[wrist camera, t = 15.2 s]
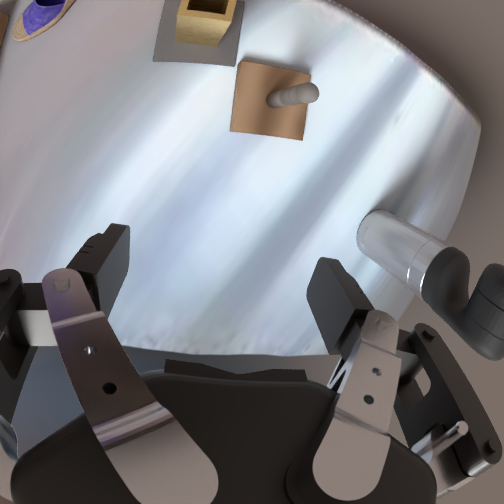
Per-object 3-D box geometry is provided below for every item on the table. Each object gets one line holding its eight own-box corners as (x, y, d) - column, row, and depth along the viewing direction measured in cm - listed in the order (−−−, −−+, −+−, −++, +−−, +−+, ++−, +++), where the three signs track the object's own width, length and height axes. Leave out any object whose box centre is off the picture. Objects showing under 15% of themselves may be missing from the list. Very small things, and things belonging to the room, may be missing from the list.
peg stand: (304, 76, 35) (354, 62, 24) (296, 139, 39) (344, 147, 28) (237, 64, 32) (267, 37, 21) (229, 131, 36) (255, 132, 25)
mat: (243, 3, 28) (244, 2, 28) (233, 66, 32) (234, 66, 32) (166, -4, 25) (166, -5, 24) (153, 61, 29) (152, 60, 29)
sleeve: (224, 14, 28) (240, -17, 19) (216, 47, 30) (231, 22, 21) (184, 9, 26) (189, -24, 17) (175, 42, 28) (177, 15, 20)
